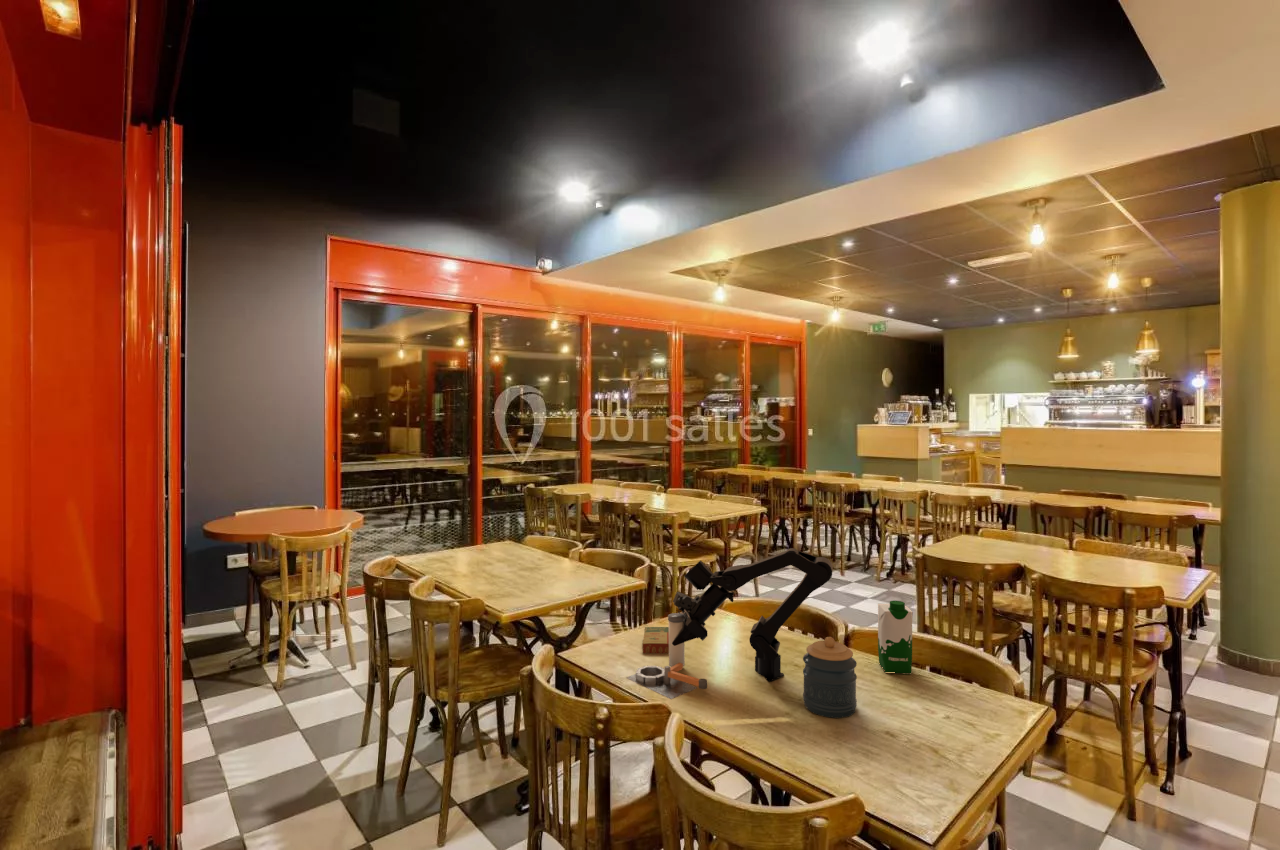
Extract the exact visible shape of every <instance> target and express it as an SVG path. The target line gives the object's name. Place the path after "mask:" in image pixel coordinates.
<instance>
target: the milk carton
mask: <svg viewBox="0 0 1280 850" xmlns="http://www.w3.org/2000/svg"><path fill="white" fill-rule="evenodd" d="M913 613H914V612H913V611H912V610H911V609H910V608H909V606H906V604H905V602H904V601H901V600H890V601H889V603H877V619H878V620H877V651H878V664H879V663H880V664H879V666H880V665H881V666H882V667H883V669H884V670H885V671H884V670H883V669H882V670H883V671H884V673H885V672H895V673H911V674H912V670H913V669H912V666H913V665H912V664H913ZM881 666H880V667H881ZM882 667H881V668H882Z"/></svg>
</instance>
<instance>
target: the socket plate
mask: <svg viewBox="0 0 1280 850" xmlns="http://www.w3.org/2000/svg"><path fill="white" fill-rule="evenodd" d="M625 678H626V679H628V680H630V681H632V682H634V683H636V684H638V685H641V686H642V687H645V688H646V689H649V690H650V691H653V692H655V693H657V694H659V695H661V696H663V697H666V698H667V699H670V700H673V699H675V698H677V697H679V696H682V695H684V694H687V693H690V692H692V691H694V690H697V689H698V686H696V685H692V684H689V683H686V682H683V681H679V680H676V679H673V678H670V684H669V685H667V684H665V667H662V666H661V665H660V666H659V665H658V666H657V665H643V666H641V667H640V666H639V667H637V669H636V670H635V674H632V675H629V676H626V677H625Z"/></svg>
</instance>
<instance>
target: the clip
mask: <svg viewBox="0 0 1280 850" xmlns="http://www.w3.org/2000/svg"><path fill="white" fill-rule="evenodd" d="M664 669H665V684H667V685H669V684H670V678H673V679H676V680H679V681H683V682H686V683H688V684H690V685H692V686H695V687H698V688H699V690H706V689H708V679H706V678H697V677H693V676H690V675H686V674H683V673H680V672H679V671H681V670H682V669H684V667H683V664H682V663H678V664H676V665H674V666H672V667H670V666H669V665H665V666H664Z"/></svg>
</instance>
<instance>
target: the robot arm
mask: <svg viewBox="0 0 1280 850" xmlns="http://www.w3.org/2000/svg"><path fill="white" fill-rule="evenodd" d="M789 566H793V567H795V568H796V569H798V570H800V571H801V572H803V573H805V575H804V576H803V578H802V580H801V581H800V582H799V584H797V585H796V587H795V588H794V589H793V590H792V591H791V592H790V593H789V595H788V596H787V597H786V598H785V599H784V600H783V601H782V603H780V605H779V606H778V607H777V608H776V609H775V610H774V612H773V613H772V614H771V615H770V616H768V617H767V618H766V617H764V616H763V615H761V616H760V618H759V620H758V621H757V622H756V623H754V624H753V626H752V628H751V630H750V635H749V644H750V646H751V647H752V649H753V650H754V651H755V657H754V671H755V672H757V673H758V675H759V676H761V677H764V679H765V680H766V681H767V682H774V681H775V680H777V679H779V678H782V677H784V676H785V673H783V672H781V668H782V666H781V665H782V663H781V659H782V658H781V656H782V655H781V654H779V653H778V652H779V648H780V646H781V642H780V641H779V640H778V639H777V638H776V635H778V632H779V630H780V629H781V627H782V626H783V625H784V624H785V623H786V622H787V620H788V619H789V618H790V617H791V616H792V615H793V614H794V613H795V611H796V610H797V609H798V608H799V607H800V606H801V605H802V604H803V603H804V601H805V600H806V599H807V598H808V597H809V596H810V595H811V594H812V593H813V592H814V591H817V590H818V589H820V588H822V587H823V585H825V584H826V583H828V581H831V579H832V576H833V569H834V568H833V564H832V562H831V561H830V559H829V558H826V557H824V556H816V555H814V554H810V553H806V552H804V551H800V550H799V549H796V548H793V547H791V548H788V549H787V550H784V551H781V552H779V553H776V554H773V555H771V556H768V557H766V558H763V559H760V560H758V561H754V562H752V563H749V564H737V565H733V566H728V567H727V568H726V569H725V570H719V571H714V572H713V571H711V570H710V568H709V567H707V566H706V564H705V563H704V562H703V561H702V560H699V561H698V562H697V563H696V564H695V565H693V566H692V567H691V568H690V569H689V570H688V571H687V573H686V574H685V575H684V576H683V577H684V578H685V579H686V580H687V581H688V582H689V584H691V585H692V586H693V587H694V589H696V591H704V592H703V593H702V594H701V595H696V596H695V597H694V598H693V597H692V596H689V595H687V594H685V593H682V592H680V591H676V593H675V596H674V598H673V600H672V603H673V605H674V606H675V607H677V609H678V611H677V613H680V614H684V615H685V621H683V627H682V629H681V631H680V632H679V633H678V635H677V636H676V638H675V639H674V640H673V642H672V644H673V645H674V646H676V645H679V644H681V643H684V644H685V643H686V642H689V641H691V640H695V639H700V640H701V641H705V640H706V638H708V629H707V628H706V627H705V626H706V621H707V620H708V619H709V618H710V617H711V616H712V617H714V616H715V615H716V613H715V611H716V610H717V609H718V608H719V607H720V606H721V605H722V604H723V603H724V602H725V601H726V600H727V599H728V600H729V602H732V603H733V602H734V596H735V595H734V594H735V592H734V591H736V590H738V589H739V588H742V587H743V586H745V585H746V584H748V583H749V582H750V581H752V580H754V579H756V578H758V577H762V576H765V575H768V574H770V573H773V572H776V571H778V570H781V569H783V568H784V569H785V568H786V567H789ZM711 583H712V584H711ZM710 584H711V585H710ZM709 585H710V586H709ZM708 586H709V587H708ZM707 587H708V588H707ZM706 588H707V589H706ZM680 611H681V612H680Z"/></svg>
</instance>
